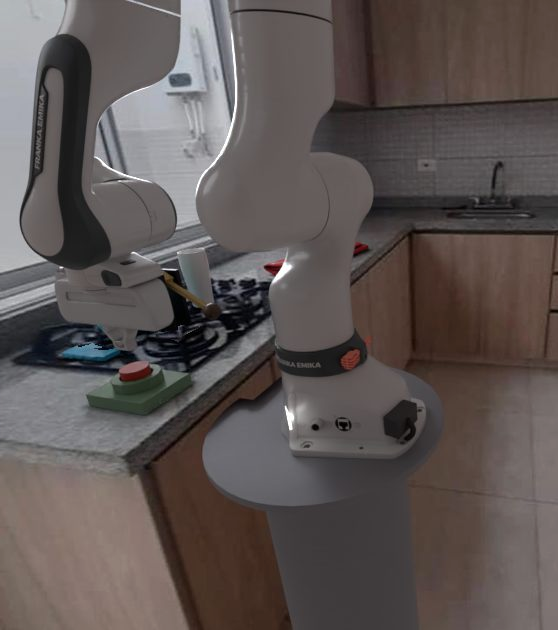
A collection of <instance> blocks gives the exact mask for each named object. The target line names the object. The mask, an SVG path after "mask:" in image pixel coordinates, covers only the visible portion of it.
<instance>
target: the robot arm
mask: <svg viewBox="0 0 558 630" xmlns="http://www.w3.org/2000/svg"><path fill="white" fill-rule="evenodd" d="M227 10H228V19H229V29H230V35H231V36H230V37H231V47H232V58H233V68H234V69H233V71H234V83H235V94H234V95H235V97H234V99H235V100H234V110H233V115H232V120H231V125H230V127H229V132H228V133H227V134H228V135H227V138H226V140H225V143H224V145H223V146H222V149H221V150H220V153H219V154H218V156H217V157H216V158H215V160H214V161H213V163H212V164H211V165H210V166H209V167H208V168H207V169H206V170H204V172H203V173H202V175H201V176H200V178H199V181H198V183H197V186H196V189H195V191H196V192H195V209H196V214H197V217H198V220H199V222H200V225H201V227H202V228H203V230H204V232H205V233H206V234H207V236H208V237H209V238H210V239H211V240H212V241H213V242H214V243H215V244H217V245H218V246H219V247H220V248H222V249H224V250H225V251H228V252H231V253H235V254H237V253H239V254H240V253H243V254H245V253H247V254H248V253H269V252H273V251H274V252H275V251H277V250H281V249H283V248H286V253H285V258H284V259H285V260H284V263H283V265H282V267H281V269H280V271H279V272H278V273H277V275H275V276H274V277H273V279H272V281H271V283H270V285H269V289H268V301H269V302H268V303H269V306H270V313H271V318H272V324H273V330H274V334H275V339H274V342H273V345H274V346H273V347H274V352H275V359H276V365H277V368H278V369H279V370H280V371H281V377H282V383H283V415H282V421H281V431H282V433H283V435H284V436H285V437H286V438H287V440H288V441H289V443H290V453H291V454H292V455H293V456H300V457H330V458H360V459H395V458H397V457H399V456H401V455H402V454H404V453H405V452H406V451H408V450H409V449H410V448H411V447H412V446H413V444H414V443H415V442H416V441H417V439H418V438H419V436H420V434H421V432H422V430H423V428H424V426H425V423H426V418H427V412H426V407H425V404H424V402H423V401H422V400H419V399H415V398H411V396H410V392H409V388H408V385H407V383H406V381H405V379H404V378H403V377H402V376H401V375H399V374H398V373H396V372H395V371H393V370H392V369H390V368H389V367H390V366H388V365H386V364H385V363H383V362H381V361H380V360H378V359H377V358H376V357H374V356H373V355H372V354H370V353H369V352H368V347H369V346H370V344H371V343H372V340H371V337H372V335H371V334H369V335H368V336H366V337H365V339H363V338H362V337H361V335H360V334H359V332H358V331H357V328H355V326H354V316H353V307H352V306H353V304H352V293H351V275H352V266H353V265H352V264H353V258H354V255H353V253H354V248H355V244H356V242H357V239H358V236H359V231H360V230H361V229H360V228H361V226H362V224H363V222H364V219H365V218H366V216H367V215H368V214H369V212H370V211H371V208H372V205H373V202H374V193H375V192H374V184H373V182H372V177H371V176H370V173H369V172H368V170H367V169H366V167H365V166H364V165H363V164H362V163H361V162H360V161H358V160H357V159H355V158H352V157H349V156H346V155H343V154H339V153H334V152H330V151H315V152H311V148H312V143H313V139H314V135H315V133H316V130H317V127H318V125H319V124H320V121H321V120H322V118H323V117H324V116H325V115H326V114H327V113H328V112H329V111H330V110H331V108H332V107H333V105H334V102H335V99H336V76H335V73H336V72H335V51H334V50H335V49H334V47H335V46H334V26H333V25H334V22H333V20H334V19H333V5H332V0H227ZM181 16H182V0H65V8H64V12H63V16H62V20H61V23H60V25H59V27H58V29H57V31H56V33H55V35H54V36H53V37H50V38H49V39H47V40H46V41H45V43H44V44H43V45H42V47H41V50H40V53H39V56H38V61H37V66H36V74H35V83H34V94H33V106H32V107H33V109H32V121H31V122H32V125H31V140H30V156H29V169H28V170H29V171H28V180H27V184H26V189H25V192H24V195H23V198H22V201H21V206H20V210H19V217H18V221H19V222H18V223H19V229H20V232H21V235H22V237H23V239H24V241H25V243H26V244H27V246H28V247H29V248H30V249H31V250H32V251H33V253H35V254H36V255H38V256H39V257H40V258H42V259H44V260H46V261H47V262H50V263H52V264H54V265H57V266H58V267H57V269H56V271H55V272H54V278H55V282H54V294H55V299H56V303H57V305H58V310H59V312H60V315H61V317H62V318H63V319H64V320H65V321H66V322H68V323H75V324H84V325H93V326H97V325H101V326H102V329H103V331H102V332H103V333H104V334H105V335H106V336H107V337H108V338H109V339H110V341H111V342H112V344H113V348H115V349H117V350H120V351H127V352H132V351H134V350H136V349H138V343H137V339H136V338H137V334H138V331H146V332H147V331H149V332H157V331H159V330H161V329H163V328H165V327H167V326H169V325H170V324H171V323H172V321H173V319H174V313H173V309H172V305H171V301H170V298H169V294H168V291H167V289H166V286H165V285H164V283H163V282H162V281H161V280H160V279H158V278H157V277H160V276H161V275H162V269H163V268H162V266H161V265H160V263H158V262H156V261H154V260H151V259H150V258H147V257H145V256H142V255H140V254H139V253H137V252H138V251H141V250H144V249H147V248H150V247H153V246H157V245H160V244H162V243H164V242H166V241H168V240H170V239H171V238H172V237H173V236H174V234H175V232H176V229H177V226H178V225H177V224H178V214H177V209H176V206H175V204H174V201H173V200H172V198H171V196H170V195H169V193H168V192H167V191H166V190H165V189H164V188H163V187H162V186H161V185H159V184H158V183H156V182H154V181H152V180H149V179H141V178H137V177H134V176H131V175H127V174H124V173H122V172H120V171H117V170H116V169H113V168H111V167H109V166H108V165H106V163H105V162H104V161H102V159H100V158H99V157H97V156H95V152H96V141H97V131H98V126H99V123H100V121H101V119H102V117H103V115H104V114H105V113H106V112H107V110H108V109H110V107H112V106H113V105H114V104H115V103H117V102H118V101H120V100H122V99H123V98H125V97H127V96H129V95H132V94H133V93H137V92H139V91H141V90H145V89H147V88H150V87H152V86H155V85H157V84H159V83H160V82H162V81H163V80H165V78H167V77H168V76H169V75H170V74H171V72H172V71H173V70H174V69H175V67H176V64H177V61H178V57H179V53H180V47H181V31H182V30H181V28H182V27H181V26H182V25H181V23H182V17H181ZM387 366H388V367H387Z"/></svg>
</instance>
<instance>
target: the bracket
mask: <svg viewBox="0 0 558 630" xmlns="http://www.w3.org/2000/svg"><path fill="white" fill-rule="evenodd" d="M161 269H162V271H165V272H166V273H168V274H169V275H171V276H172V277H174V278H173V282H174V283H175V284H177V285H179V286H180V287H182V288H183V289H184V285H183V282H182V277H181V274H180V269H179V268H161ZM157 278H158V279H160V280H161V281H162V282H163V283H164V285H165V286H166V289H167V291H168V294H169V298H170V301H171V305H172V309H173V313H174V319H173V321H172V323H171V324H170V325H169V326H167V327H165V328H163V329H161V330H160V332H165V331H170V330H171V331H175V330H178V326H180V325H188V324H192V322H193V321H192V317H191V312H190V308H189V305H188V299H186V298H185V297H183V296H182V295H180V294H178V293H177V292H175V291H174V290H172V289H171V288H169V287H168V288H167V285H166V281H165V277H164V274H162V275H161V276H160V277H157ZM203 323H204V324H202V325H201V326H202V327H200V326H199V327H200V328H198V329H196V330H194V331H192V332H190V333H188V334H186V335H185V340H187V339H189V338H191V337H193V336H195V335H196V334H198V333H200V332H203V331H204V330H206V329H207V328H208V327H207V324H206V323H205V322H203ZM147 341H148V342H154V343H164V344H172V345H174V344H175V345H177V344H179V343H178V342H177V341H175V340H171V339H161V338H157V337H156V335H155V332H153V333H151V334H149V335H147Z"/></svg>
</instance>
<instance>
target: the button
mask: <svg viewBox="0 0 558 630" xmlns="http://www.w3.org/2000/svg"><path fill="white" fill-rule="evenodd" d="M149 364H150V362H149V361H146V360H139V361H134V362H130V363H127V364H125V365H123V366H122V367H120V368H119V370H118V373H120V376H121V379H122V381H123V382H130V381H136V380H139V379H142V378H145V377H146V376H148V375H150V374H151V373H152V371H151V368H150V365H149Z"/></svg>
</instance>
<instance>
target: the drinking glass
mask: <svg viewBox="0 0 558 630" xmlns="http://www.w3.org/2000/svg"><path fill="white" fill-rule="evenodd" d="M176 255H177V259H178V264H179V267H180V271H181V274H182V276H183V277H182V278H183V280H184V282H185V285H186V289H187V291H188V292H189V293H191V294H193V295H194V296H196V297H197V298H199V299H200V300H202V301H203V302H205V303H206V304H209V303H215V298H214V291H213V286H212V279H211V277H212V276H211V271H210V263H209V259H208V255H207V251H206V249H205V248H203V247H195V248H194V247H193V248H186V249H181V250H179V251H177V252H176ZM191 303H192V302H191ZM192 306H193V308H197V309H201V308H200V307H199V306H197V305H195V304H194V303H192Z"/></svg>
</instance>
